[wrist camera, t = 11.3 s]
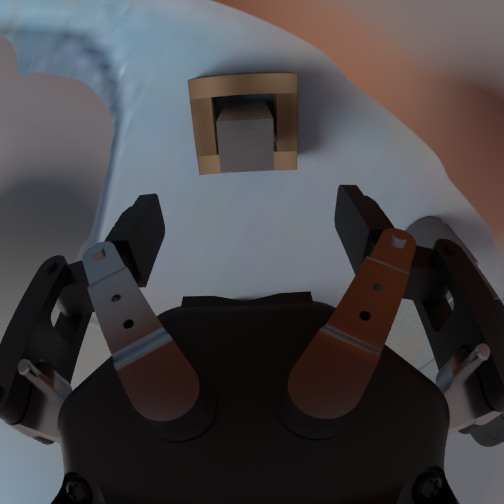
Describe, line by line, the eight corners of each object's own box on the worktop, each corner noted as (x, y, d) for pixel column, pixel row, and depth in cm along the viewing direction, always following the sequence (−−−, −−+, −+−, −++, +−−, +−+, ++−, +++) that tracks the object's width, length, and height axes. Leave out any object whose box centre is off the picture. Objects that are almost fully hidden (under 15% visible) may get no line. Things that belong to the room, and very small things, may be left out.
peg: (263, 99, 27) (273, 119, 18) (264, 134, 29) (274, 170, 20) (226, 101, 27) (216, 121, 18) (228, 135, 29) (220, 172, 20)
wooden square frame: (290, 72, 25) (297, 73, 21) (291, 156, 31) (297, 169, 28) (195, 77, 25) (187, 80, 22) (204, 161, 31) (199, 174, 28)
